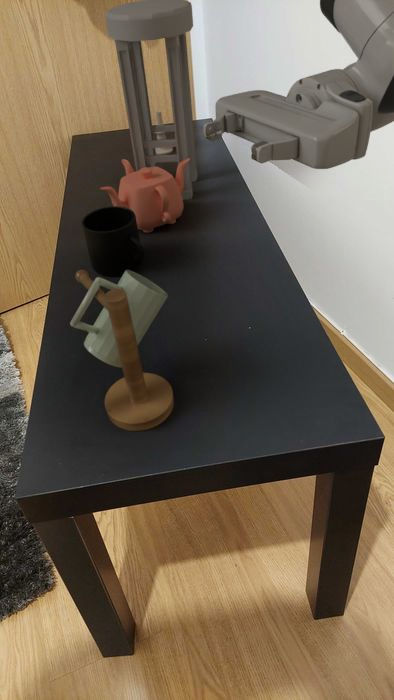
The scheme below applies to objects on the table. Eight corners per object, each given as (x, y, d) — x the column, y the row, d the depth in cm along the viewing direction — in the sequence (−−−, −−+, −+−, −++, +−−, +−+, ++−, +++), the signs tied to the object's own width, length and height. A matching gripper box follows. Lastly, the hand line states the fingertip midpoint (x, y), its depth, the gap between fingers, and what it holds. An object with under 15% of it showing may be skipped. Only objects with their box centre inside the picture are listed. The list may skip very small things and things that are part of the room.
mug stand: (186, 408, 67) (171, 298, 55) (126, 442, 63) (96, 332, 51) (129, 345, 77) (106, 240, 65) (75, 372, 73) (39, 266, 61)
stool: (199, 203, 109) (184, 10, 86) (129, 204, 112) (96, 17, 88) (207, 173, 121) (195, -5, 97) (143, 175, 123) (116, 1, 99)
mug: (128, 287, 88) (119, 241, 82) (81, 267, 94) (70, 223, 88) (163, 262, 93) (157, 217, 87) (117, 244, 99) (108, 201, 93)
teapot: (109, 237, 102) (98, 185, 94) (130, 204, 112) (121, 154, 104) (180, 239, 99) (174, 186, 91) (194, 205, 109) (190, 154, 102)
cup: (112, 347, 71) (152, 280, 69) (133, 371, 67) (176, 301, 65) (50, 328, 64) (93, 252, 61) (70, 354, 60) (116, 275, 57)
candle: (152, 149, 135) (146, 107, 128) (171, 146, 135) (166, 104, 128) (154, 156, 131) (148, 114, 124) (174, 153, 131) (169, 111, 124)
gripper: (264, 71, 69) (179, 95, 64) (384, 104, 56) (289, 138, 51) (264, 120, 73) (183, 146, 68) (375, 161, 60) (286, 197, 55)
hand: (229, 143), depth 59 cm, fingers open, 8 cm apart
